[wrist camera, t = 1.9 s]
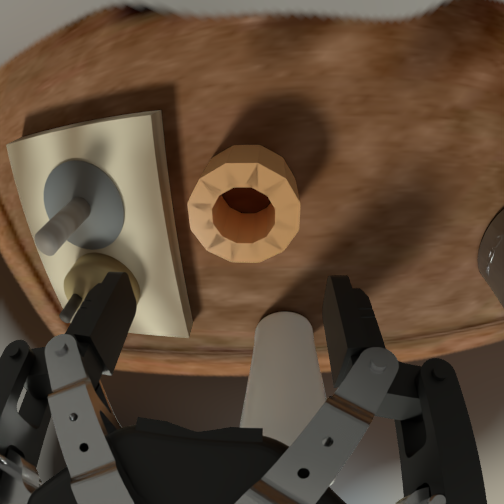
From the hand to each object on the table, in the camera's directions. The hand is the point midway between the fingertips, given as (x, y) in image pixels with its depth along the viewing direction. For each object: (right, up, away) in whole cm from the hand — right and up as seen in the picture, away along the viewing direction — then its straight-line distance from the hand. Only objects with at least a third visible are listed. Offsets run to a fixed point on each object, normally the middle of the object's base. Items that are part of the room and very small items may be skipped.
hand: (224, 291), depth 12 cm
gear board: (-11, +3, +12) cm, 16 cm away
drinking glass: (+4, -5, +17) cm, 18 cm away
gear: (+1, +6, +9) cm, 11 cm away
